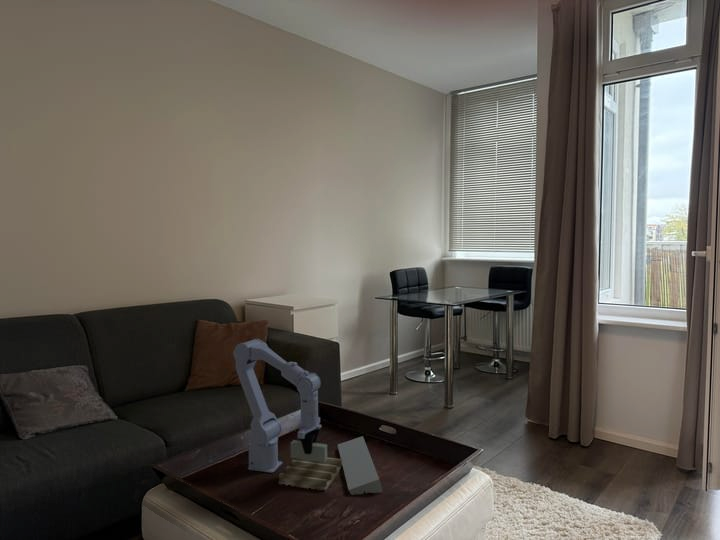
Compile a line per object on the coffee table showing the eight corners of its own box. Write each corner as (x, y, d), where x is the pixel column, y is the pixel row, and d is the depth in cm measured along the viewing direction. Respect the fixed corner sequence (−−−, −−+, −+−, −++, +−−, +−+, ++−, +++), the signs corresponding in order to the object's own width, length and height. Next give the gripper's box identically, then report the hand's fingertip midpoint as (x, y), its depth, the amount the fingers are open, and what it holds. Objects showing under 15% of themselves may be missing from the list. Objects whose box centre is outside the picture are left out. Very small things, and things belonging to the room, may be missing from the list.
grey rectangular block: (352, 504, 155) (383, 493, 156) (348, 489, 154) (379, 479, 156) (340, 456, 188) (366, 447, 190) (337, 444, 188) (362, 436, 189)
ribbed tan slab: (278, 484, 161) (278, 474, 161) (299, 461, 178) (299, 453, 177) (325, 491, 157) (325, 481, 157) (342, 467, 173) (342, 458, 173)
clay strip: (290, 457, 167) (290, 443, 166) (293, 454, 169) (293, 440, 169) (324, 462, 163) (324, 447, 163) (327, 459, 165) (327, 444, 165)
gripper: (312, 420, 157) (312, 462, 158) (328, 405, 171) (328, 444, 172) (291, 418, 159) (291, 459, 160) (309, 403, 173) (309, 442, 174)
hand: (309, 451), depth 166 cm, fingers closed on clay strip, 2 cm apart
